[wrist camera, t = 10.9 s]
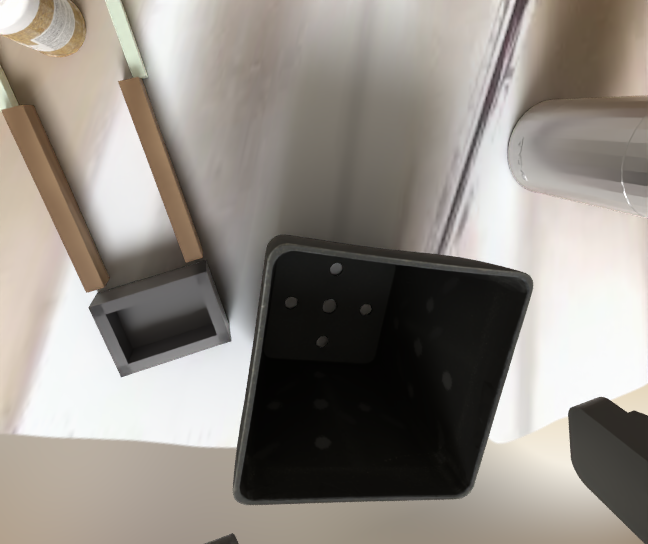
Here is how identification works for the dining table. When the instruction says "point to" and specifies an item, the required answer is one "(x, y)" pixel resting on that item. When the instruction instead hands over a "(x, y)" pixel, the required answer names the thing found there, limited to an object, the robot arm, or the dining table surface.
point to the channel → (61, 197)
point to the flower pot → (374, 374)
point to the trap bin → (161, 318)
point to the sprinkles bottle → (43, 25)
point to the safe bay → (4, 97)
